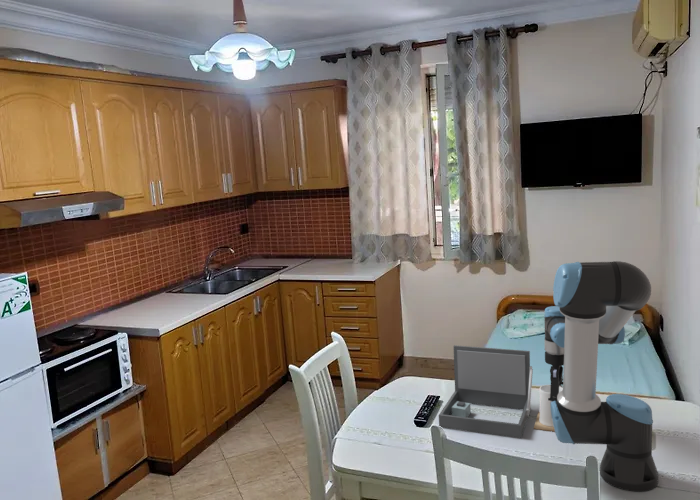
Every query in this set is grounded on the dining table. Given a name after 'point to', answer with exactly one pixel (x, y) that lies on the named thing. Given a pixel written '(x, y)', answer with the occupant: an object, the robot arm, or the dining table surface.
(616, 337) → the robot arm
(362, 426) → the dining table surface
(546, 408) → the mug
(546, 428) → the mat
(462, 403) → the block
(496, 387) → the case
